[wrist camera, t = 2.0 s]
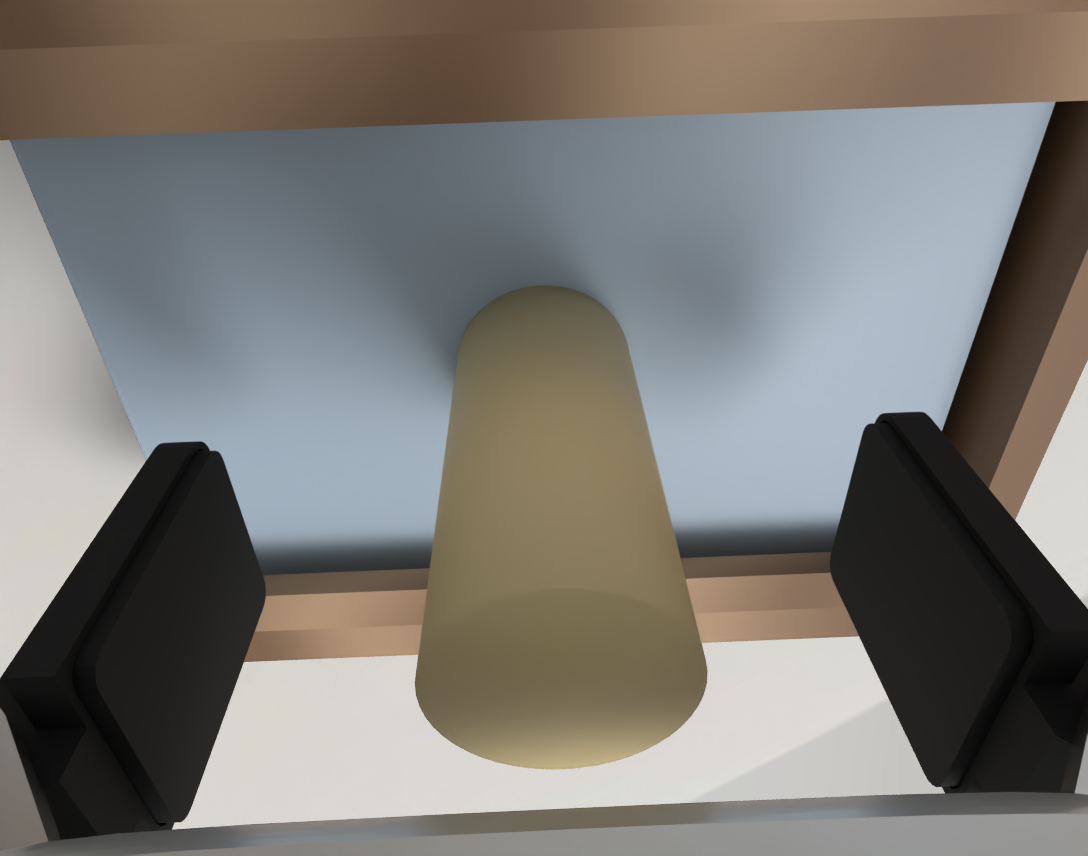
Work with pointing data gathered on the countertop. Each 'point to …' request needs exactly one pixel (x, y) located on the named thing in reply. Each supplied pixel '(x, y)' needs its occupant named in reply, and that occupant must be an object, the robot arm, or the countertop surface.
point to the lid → (541, 361)
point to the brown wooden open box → (608, 92)
